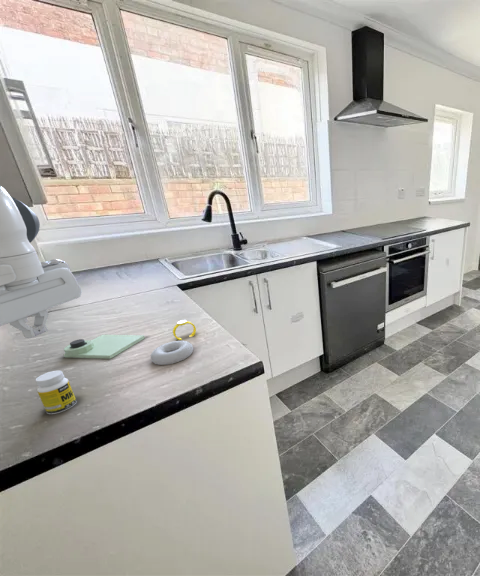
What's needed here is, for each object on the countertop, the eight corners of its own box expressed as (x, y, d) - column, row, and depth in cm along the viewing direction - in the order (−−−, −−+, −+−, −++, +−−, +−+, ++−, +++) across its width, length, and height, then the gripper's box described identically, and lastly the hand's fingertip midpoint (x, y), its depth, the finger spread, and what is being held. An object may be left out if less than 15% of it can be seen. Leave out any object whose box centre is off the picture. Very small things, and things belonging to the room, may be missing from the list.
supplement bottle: (70, 412, 66) (55, 379, 64) (41, 418, 65) (26, 384, 62) (82, 398, 71) (69, 367, 68) (55, 403, 69) (41, 371, 66)
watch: (195, 333, 100) (191, 317, 98) (198, 336, 99) (194, 319, 97) (174, 340, 96) (169, 323, 94) (177, 343, 94) (172, 326, 93)
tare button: (68, 348, 87) (66, 344, 87) (79, 343, 90) (77, 338, 89) (78, 349, 87) (76, 344, 86) (88, 343, 90) (87, 339, 89)
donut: (185, 365, 83) (199, 346, 92) (182, 354, 82) (197, 336, 91) (144, 370, 81) (163, 350, 91) (141, 358, 80) (160, 339, 89)
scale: (61, 359, 87) (57, 350, 86) (102, 338, 98) (99, 329, 97) (109, 360, 86) (106, 351, 85) (145, 339, 97) (142, 330, 96)
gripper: (51, 257, 69) (73, 313, 73) (-86, 287, 49) (-45, 361, 54) (77, 256, 68) (98, 313, 73) (-50, 287, 49) (-11, 362, 54)
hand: (36, 334), depth 63 cm, fingers closed
